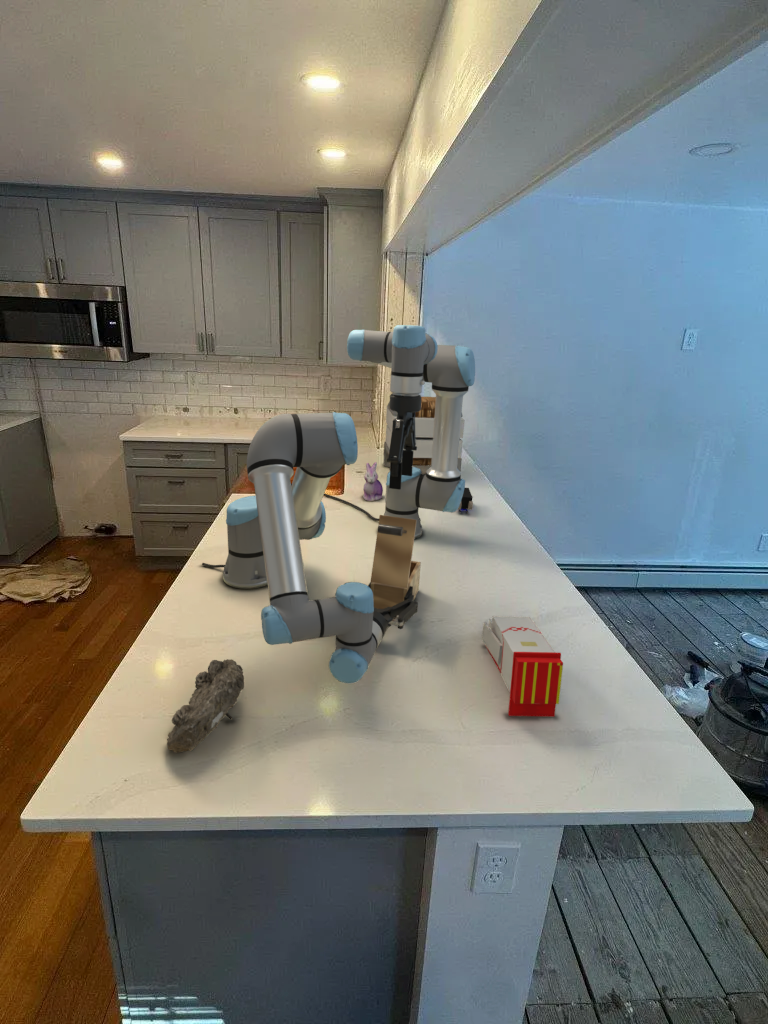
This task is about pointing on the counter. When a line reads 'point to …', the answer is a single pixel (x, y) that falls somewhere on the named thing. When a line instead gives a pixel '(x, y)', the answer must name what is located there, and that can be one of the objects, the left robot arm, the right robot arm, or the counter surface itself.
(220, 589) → the counter surface
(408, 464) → the right robot arm
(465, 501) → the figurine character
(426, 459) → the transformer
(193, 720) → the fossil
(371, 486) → the figurine
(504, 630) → the toy
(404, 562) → the lid
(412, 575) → the chest
